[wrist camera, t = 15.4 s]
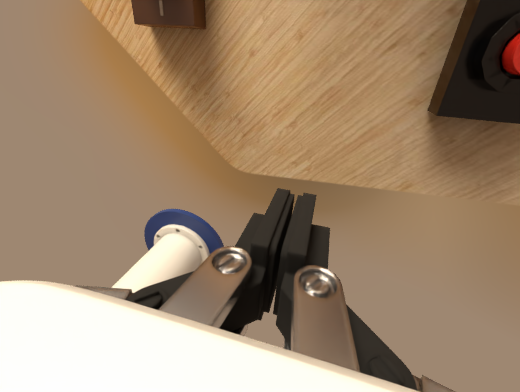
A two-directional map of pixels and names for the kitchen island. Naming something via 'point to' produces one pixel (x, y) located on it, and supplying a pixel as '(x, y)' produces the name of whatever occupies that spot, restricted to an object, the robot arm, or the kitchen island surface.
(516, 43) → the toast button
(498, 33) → the red push button box
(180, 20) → the dial panel
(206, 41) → the kitchen island surface
